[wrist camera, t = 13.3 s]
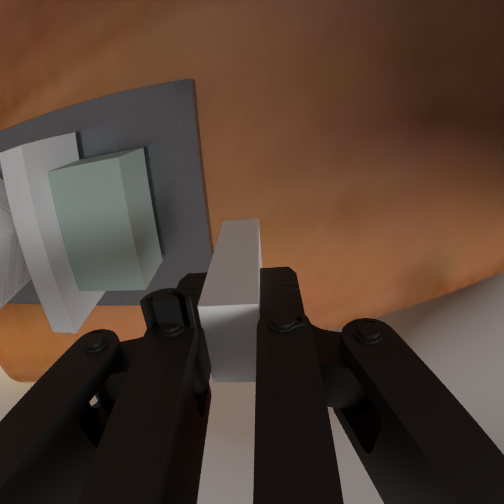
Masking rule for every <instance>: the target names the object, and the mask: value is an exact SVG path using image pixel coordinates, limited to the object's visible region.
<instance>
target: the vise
mask: <svg viewBox="0 0 504 504" xmlns="http://www.w3.org/2000/svg"><path fill="white" fill-rule="evenodd" d="M74 132H75V135H76V142H77V149H78V155H79V160H81V159H85V158H90V157H95V156H100V155H105V154H110V153H115V152H121V151H126V150H132V149H138V148H144V156H145V163H146V170H147V176H148V183H149V189H150V195H151V201H152V207H153V213H154V219H155V224H156V230H157V235H158V240H159V245H160V250H161V255H162V260H163V261H162V263H161V264H160V266H159V268H158V269H157V271H156V273H155V275H154V276H153V278H152V280H151V282H150V283H149V285H148V287H147V289H146V290H123V291H106V292H105V293H104V294H103V296H102V297H101V299H100V300H99V301H98V303H97V304H96V305H140V301H141V300H142V299H143V298H144V296H146V295H148V294H149V293H151V292H154V291H157V290H160V289H165V288H177V285H178V283H179V281H180V280H181V279H182V278H183V277H185V276H186V275H187V274H188V273H205V272H208V270H209V266H210V263H211V260H212V256H213V253H214V250H213V243H212V235H211V227H210V219H209V211H208V203H207V195H206V187H205V178H204V169H203V160H202V151H201V141H200V132H199V122H198V111H197V101H196V89H195V80H193V79H187V80H180V81H174V82H168V83H163V84H157V85H152V86H147V87H142V88H137V89H133V90H128V91H124V92H120V93H115V94H111V95H107V96H104V97H100V98H96V99H92V100H89V101H85V102H82V103H78V104H75V105H72V106H68V107H65V108H62V109H59V110H56V111H53V112H50V113H47V114H44V115H41V116H39V117H36V118H33V119H30V120H28V121H25V122H23V123H20V124H17V125H15V126H12V127H10V128H8V129H5V130H3V131H0V153H1V152H4V151H6V150H9V149H12V148H15V147H17V146H20V145H24V144H27V143H31V142H35V141H39V140H43V139H47V138H51V137H55V136H60V135H64V134H69V133H74ZM0 178H1V179H3V173H2V168H1V162H0ZM3 180H4V179H3ZM7 303H19V304H41V302H40V299H39V297H38V294H37V292H36V289H35V287H34V284H33V281H32V279H31V280H30V281H29V282H28V283H27V284H26V285H25V286H24V287H23V288H22V289H21V290H19V291H18V292H17V293H16V294H15V295H14V296H13V297H12V298H11V299H10V300H9V301H8V302H7Z"/></svg>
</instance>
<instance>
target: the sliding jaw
mask: <svg viewBox="0 0 504 504" xmlns="http://www.w3.org/2000/svg"><path fill="white" fill-rule="evenodd" d="M0 162H1V168H2V173H3V179H4V184H5V188H6V193H7V197H8V202H9V206H10V210H11V214H12V218H13V221H14V225H15V229H16V232H17V236H18V239H19V242H20V246H21V249H22V252H23V255H24V258H25V261H26V264H27V267H28V270H29V273H30V276H31V278H32V281H33V284H34V287H35V289H36V292H37V294H38V297H39V299H40V302H41V304H42V307H43V309H44V312H45V314H46V316H47V319H48V321H49V323H50V325H51V328H52V330H53V332H60V333H75V334H76V333H77V331H78V330H79V328H80V327H81V325H82V324H83V323H84V321H85V320H86V318H87V317H88V315H89V314H90V313H91V311H92V310H93V308H94V307H95V305H96V304H97V303H98V301H99V300H100V299H101V297H102V296H103V294H104V293H105V292H106V291H123V290H146V289H147V287H148V285H149V283H150V282H151V280H152V278H153V276H154V275H155V273H156V271H157V269H158V268H159V266H160V264H161V263H162V261H163V260H162V255H161V250H160V245H159V240H158V235H157V230H156V224H155V219H154V213H153V207H152V201H151V195H150V189H149V183H148V176H147V170H146V163H145V156H144V148H138V149H132V150H126V151H121V152H115V153H110V154H105V155H100V156H95V157H90V158H85V159H81V160H79V155H78V149H77V142H76V135H75V132H74V133H69V134H64V135H60V136H55V137H51V138H47V139H43V140H39V141H35V142H31V143H27V144H24V145H20V146H17V147H15V148H12V149H9V150H6V151H4V152H1V153H0Z"/></svg>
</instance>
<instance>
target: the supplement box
mask: <svg viewBox="0 0 504 504" xmlns="http://www.w3.org/2000/svg"><path fill="white" fill-rule="evenodd" d="M31 279H32V278H31V276H30V273H29V270H28V267H27V264H26V261H25V258H24V255H23V252H22V249H21V246H20V242H19V239H18V236H17V232H16V229H15V225H14V221H13V218H12V214H11V210H10V206H9V202H8V197H7V193H6V188H5V184H4V180H3V179H1V178H0V309H1V308H2V307H3V306H4V305H5V304H6V303H7V302H8V301H9V300H10V299H11V298H12V297H13V296H14V295H15V294H16V293H17V292H18V291H19V290H21V289H22V288H23V287H24V286H25V285H26V284H27V283H28V282H29V281H30V280H31Z"/></svg>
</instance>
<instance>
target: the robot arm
mask: <svg viewBox="0 0 504 504" xmlns="http://www.w3.org/2000/svg"><path fill="white" fill-rule="evenodd" d="M140 305H141V308H142V312H143V315H144V319H145V322H146V326H147V330H146V332H145V335H144V337H141V338H137V339H133V340H127V341H122V342H120V341H119V338H118V336H117V335H116V333H115V332H113V331H111V330H105V329H100V330H94V331H91V332H89V333H87V334H84V335H83V336H82V337H80V338H79V339H78V340H77V341H76V342H75V343H74V344H73V345H72V346H71V347H70V348H69V349H68V350H67V351H66V352H65V353H64V354H63V355H62V356H61V357H60V358H59V359H58V360H57V361H56V362H55V363H54V364H53V365H52V366H51V367H50V368H49V369H48V371H47V372H46V373H45V374H44V375H43V376H42V377H41V378H40V379H39V380H38V381H37V382H36V383H35V384H34V385H33V387H31V388H30V390H29V391H28V392H27V393H26V394H25V395H24V396H23V397H22V398H21V399H20V401H18V403H17V404H16V405H15V406H14V407H13V408H12V409H11V410H10V411H9V412H8V414H7V415H6V416H5V417H4V418H3V419H2V420H1V421H0V504H197V497H198V490H199V482H200V474H201V467H202V460H203V452H204V445H205V438H206V431H207V424H208V416H209V410H210V403H211V390H210V385H209V379H210V373H211V374H212V379H213V382H256V400H255V401H256V405H255V449H254V451H255V452H254V492H253V496H254V497H253V504H344V503H343V497H342V490H341V485H340V477H339V472H338V465H337V459H336V453H335V447H334V441H333V436H332V430H331V424H330V419H329V413H328V408H327V406H328V407H333V409H334V412H335V414H336V416H337V418H338V420H339V422H340V423H341V425H342V427H343V429H344V431H345V433H346V434H347V436H348V438H349V440H350V442H351V443H352V445H353V447H354V449H355V451H356V453H357V455H358V456H359V458H360V460H361V462H362V464H363V466H364V467H365V469H366V471H367V473H368V475H369V477H370V478H371V480H372V482H373V484H374V485H375V488H376V489H377V491H378V493H379V495H380V497H381V498H382V500H383V502H384V504H504V455H503V454H502V452H501V451H500V450H499V449H498V447H497V446H496V445H495V444H494V443H493V441H492V440H491V439H490V438H489V436H488V435H487V434H486V433H485V432H484V431H483V429H482V428H481V427H480V426H479V425H478V423H477V422H476V421H475V420H474V419H473V418H472V416H471V415H470V414H469V413H468V412H467V411H466V409H465V408H464V407H463V406H462V405H461V404H460V403H459V401H458V400H457V399H456V398H455V397H454V396H453V394H452V393H451V392H450V391H449V390H448V389H447V388H446V386H445V385H444V384H443V383H442V382H441V381H440V380H439V379H438V378H437V376H436V375H435V374H434V373H433V372H432V371H431V370H430V369H429V368H428V366H427V365H426V364H425V363H424V362H423V361H422V360H421V359H420V358H419V357H418V356H417V355H416V353H415V352H414V351H413V350H412V349H411V348H410V347H409V346H408V345H407V344H406V343H405V341H404V340H403V339H402V338H401V337H400V336H399V335H398V334H397V333H396V332H395V331H394V330H393V329H392V328H391V327H390V326H389V325H387V324H386V323H385V322H382V321H379V320H376V319H370V318H362V319H356V320H353V321H351V322H349V323H347V324H346V325H345V326H344V327H343V329H342V332H335V331H328V330H323V329H320V328H318V327H315V326H314V325H312V324H311V323H310V321H309V319H308V317H307V316H306V315H305V313H304V308H303V303H302V298H301V294H300V290H299V284H298V280H297V275H296V273H295V272H294V271H293V270H292V269H291V268H290V267H275V268H262V260H261V246H260V231H259V219H245V220H231V221H223V224H222V227H221V231H220V234H219V237H218V240H217V243H216V247H215V250H214V253H213V256H212V260H211V263H210V266H209V270H208V272H205V273H188V274H187V275H186V276H185V277H183V278H182V279H181V280H180V281H179V283H178V285H177V288H165V289H160V290H157V291H154V292H151V293H149V294H148V295H146V296H144V298H143V299H142V300H141V301H140ZM94 395H95V396H96V398H97V399H98V401H97V403H96V404H94V405H93V406H91V405H90V403H89V402H90V400H91V399H92V398H93V397H94Z"/></svg>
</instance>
